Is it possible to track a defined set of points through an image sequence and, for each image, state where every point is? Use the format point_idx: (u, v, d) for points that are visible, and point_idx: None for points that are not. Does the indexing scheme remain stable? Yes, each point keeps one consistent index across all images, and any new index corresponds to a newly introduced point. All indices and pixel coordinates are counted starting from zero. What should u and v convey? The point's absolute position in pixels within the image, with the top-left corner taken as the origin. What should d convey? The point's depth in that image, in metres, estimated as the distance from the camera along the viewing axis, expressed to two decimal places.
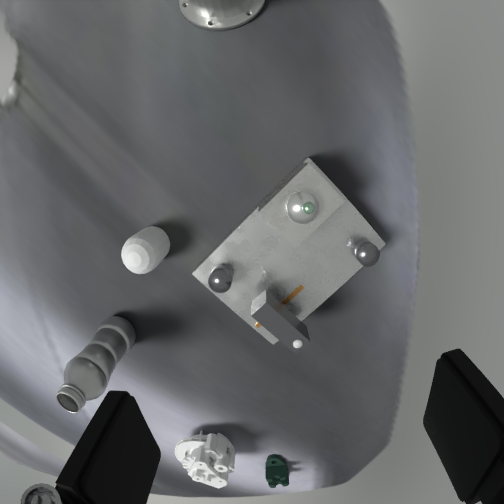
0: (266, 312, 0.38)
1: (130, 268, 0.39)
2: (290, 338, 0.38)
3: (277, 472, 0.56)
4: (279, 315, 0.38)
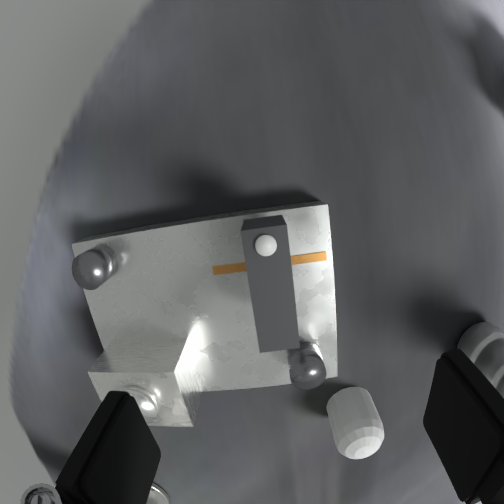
0: (272, 338, 0.19)
1: (378, 444, 0.25)
2: (269, 265, 0.18)
3: None
4: (256, 320, 0.19)
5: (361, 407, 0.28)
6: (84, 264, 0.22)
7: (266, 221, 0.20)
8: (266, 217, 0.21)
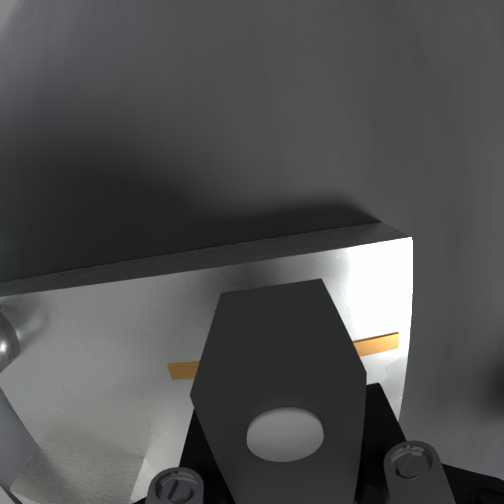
0: None
1: None
2: (294, 469, 0.05)
3: None
4: None
5: None
6: None
7: (284, 322, 0.06)
8: (281, 290, 0.08)
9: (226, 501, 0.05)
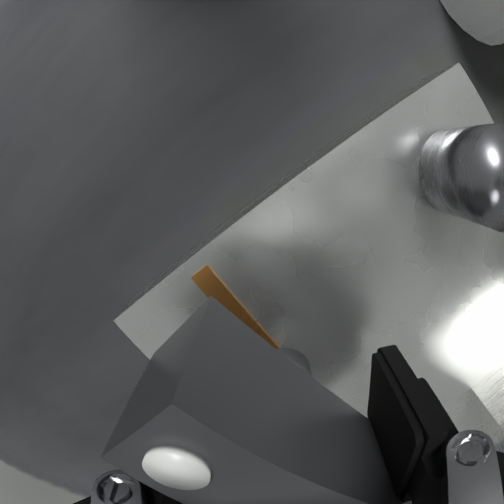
0: None
1: None
2: (231, 490, 0.05)
3: None
4: None
5: None
6: None
7: (163, 366, 0.06)
8: (181, 328, 0.08)
9: None
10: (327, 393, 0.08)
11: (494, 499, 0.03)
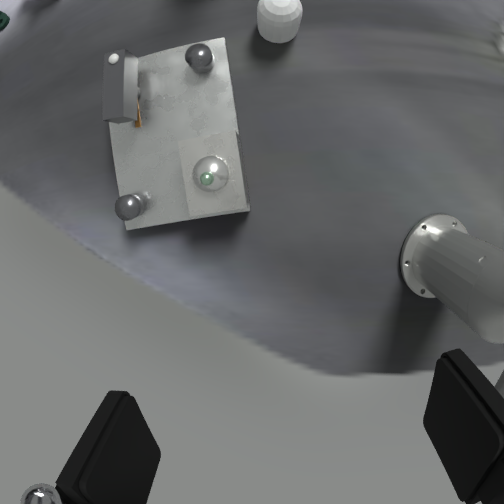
0: (109, 109, 0.28)
1: None
2: (114, 68, 0.27)
3: None
4: (103, 99, 0.28)
5: None
6: (121, 209, 0.34)
7: None
8: None
9: None
10: (136, 91, 0.31)
11: None
